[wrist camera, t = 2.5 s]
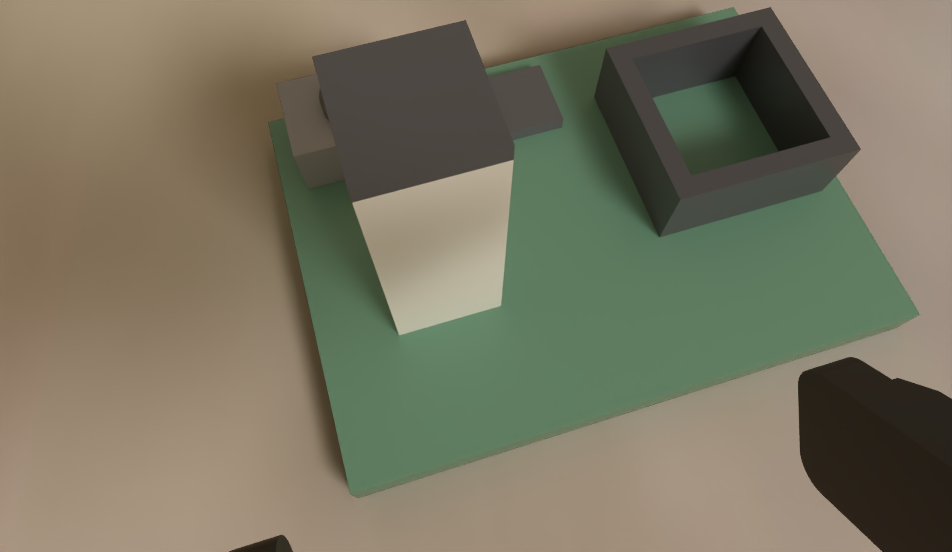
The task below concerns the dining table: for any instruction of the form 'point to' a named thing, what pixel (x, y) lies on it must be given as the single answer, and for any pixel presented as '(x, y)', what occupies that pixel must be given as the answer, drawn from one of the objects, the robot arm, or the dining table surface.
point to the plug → (424, 169)
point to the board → (601, 248)
